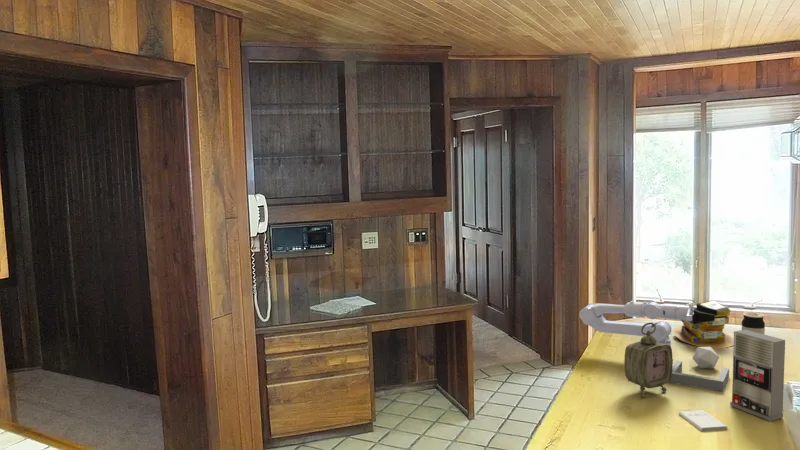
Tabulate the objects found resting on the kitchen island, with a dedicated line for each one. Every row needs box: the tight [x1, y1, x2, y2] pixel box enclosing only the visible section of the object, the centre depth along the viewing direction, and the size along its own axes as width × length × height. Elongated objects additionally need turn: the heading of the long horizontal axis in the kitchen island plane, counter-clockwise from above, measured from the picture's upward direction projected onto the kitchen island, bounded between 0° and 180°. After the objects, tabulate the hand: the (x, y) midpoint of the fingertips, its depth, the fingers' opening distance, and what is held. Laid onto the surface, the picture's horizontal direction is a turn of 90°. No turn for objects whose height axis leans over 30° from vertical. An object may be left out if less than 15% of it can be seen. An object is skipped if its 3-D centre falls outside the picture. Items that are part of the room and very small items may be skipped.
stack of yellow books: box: [673, 300, 734, 349], centre depth 271 cm, size 25×25×17 cm
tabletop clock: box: [623, 322, 674, 399], centre depth 212 cm, size 14×9×25 cm, turn 117°
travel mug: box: [741, 311, 766, 335], centre depth 245 cm, size 8×8×18 cm
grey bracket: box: [668, 360, 730, 392], centre depth 224 cm, size 18×16×4 cm
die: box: [691, 346, 720, 370], centre depth 237 cm, size 8×9×10 cm
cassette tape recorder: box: [729, 329, 786, 422], centre depth 193 cm, size 14×6×25 cm, turn 23°
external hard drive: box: [678, 409, 728, 432], centre depth 189 cm, size 2×8×12 cm
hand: (715, 315), depth 232 cm, fingers open, 7 cm apart
